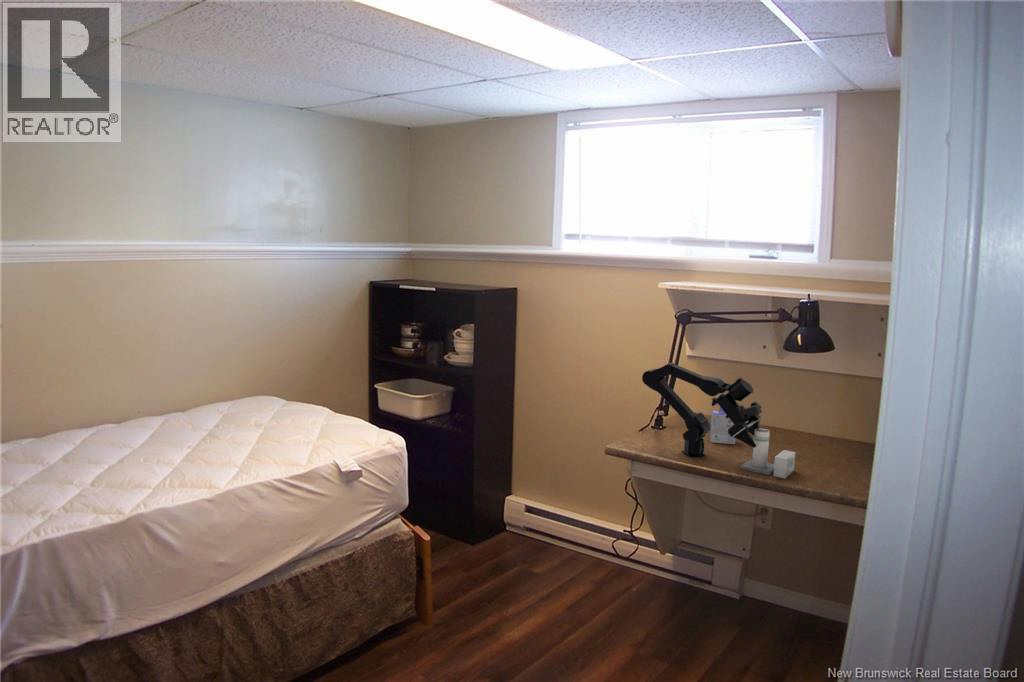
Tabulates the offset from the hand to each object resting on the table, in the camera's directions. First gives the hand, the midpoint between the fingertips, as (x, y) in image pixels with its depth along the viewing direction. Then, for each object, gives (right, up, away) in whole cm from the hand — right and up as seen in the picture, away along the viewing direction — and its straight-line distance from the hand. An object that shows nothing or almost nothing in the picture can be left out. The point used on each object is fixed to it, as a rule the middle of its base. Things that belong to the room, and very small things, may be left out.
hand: (759, 444), depth 253 cm
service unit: (+7, -10, -4) cm, 13 cm away
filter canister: (0, -8, +1) cm, 8 cm away
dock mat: (0, -9, +1) cm, 9 cm away
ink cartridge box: (-3, -4, +33) cm, 33 cm away
